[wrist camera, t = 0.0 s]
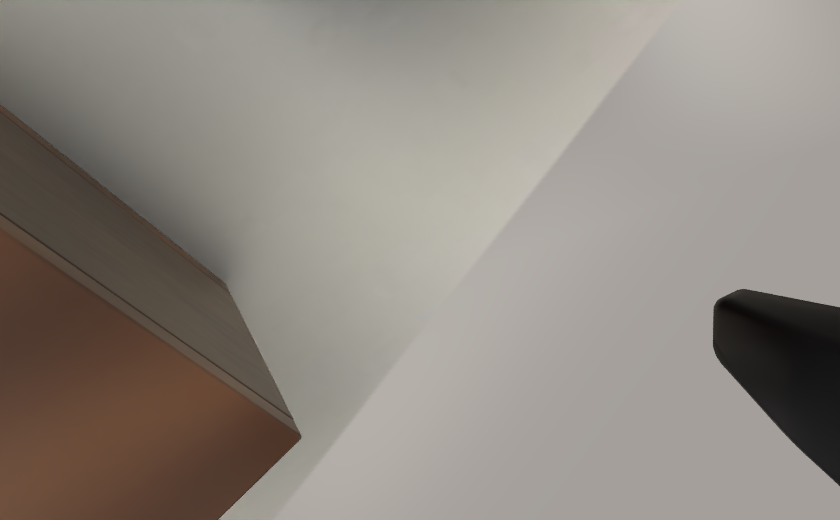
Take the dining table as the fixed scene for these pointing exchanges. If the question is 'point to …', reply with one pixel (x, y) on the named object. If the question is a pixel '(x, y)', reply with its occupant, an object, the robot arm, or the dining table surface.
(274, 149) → the dining table surface
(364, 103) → the dining table surface
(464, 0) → the dining table surface
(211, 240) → the dining table surface
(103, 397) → the cabinet
